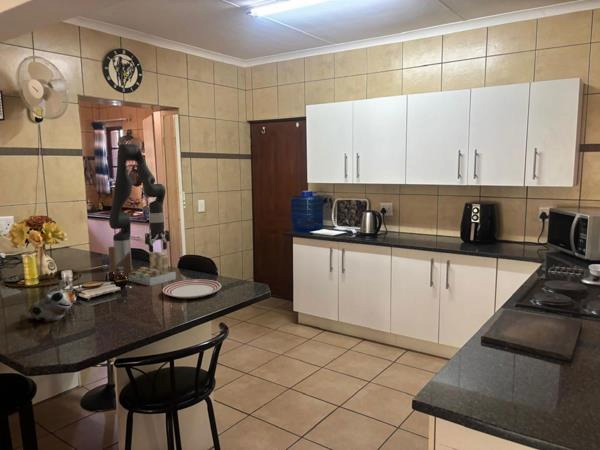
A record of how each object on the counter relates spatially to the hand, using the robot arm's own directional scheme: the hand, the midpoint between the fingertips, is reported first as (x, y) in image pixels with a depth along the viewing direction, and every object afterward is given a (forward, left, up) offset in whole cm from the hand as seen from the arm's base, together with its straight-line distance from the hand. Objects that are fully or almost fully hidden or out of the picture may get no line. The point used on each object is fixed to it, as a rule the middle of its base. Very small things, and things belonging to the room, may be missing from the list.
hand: (158, 250), depth 240 cm
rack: (0, -5, -15) cm, 16 cm away
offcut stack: (0, -8, -15) cm, 17 cm away
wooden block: (-16, -13, -15) cm, 26 cm away
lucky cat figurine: (+17, -64, -15) cm, 68 cm away
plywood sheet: (0, 0, -15) cm, 15 cm away
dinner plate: (+37, -9, -16) cm, 41 cm away
